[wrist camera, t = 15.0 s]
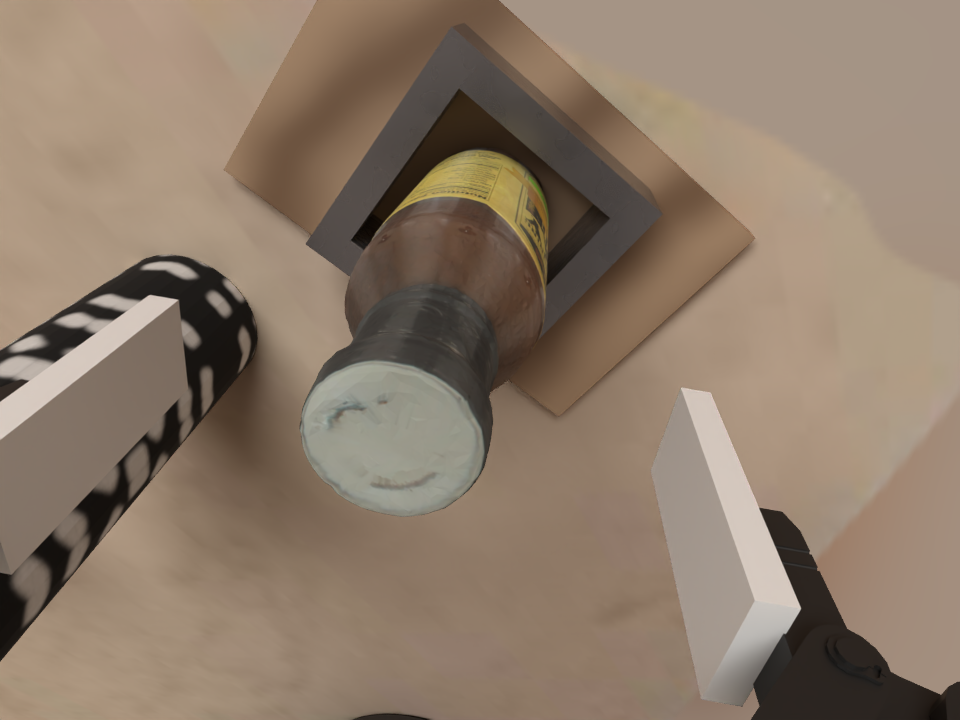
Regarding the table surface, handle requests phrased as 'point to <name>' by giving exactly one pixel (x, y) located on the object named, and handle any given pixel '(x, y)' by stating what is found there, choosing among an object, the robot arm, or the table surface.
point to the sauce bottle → (432, 337)
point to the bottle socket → (538, 125)
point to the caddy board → (465, 125)
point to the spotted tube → (210, 372)
